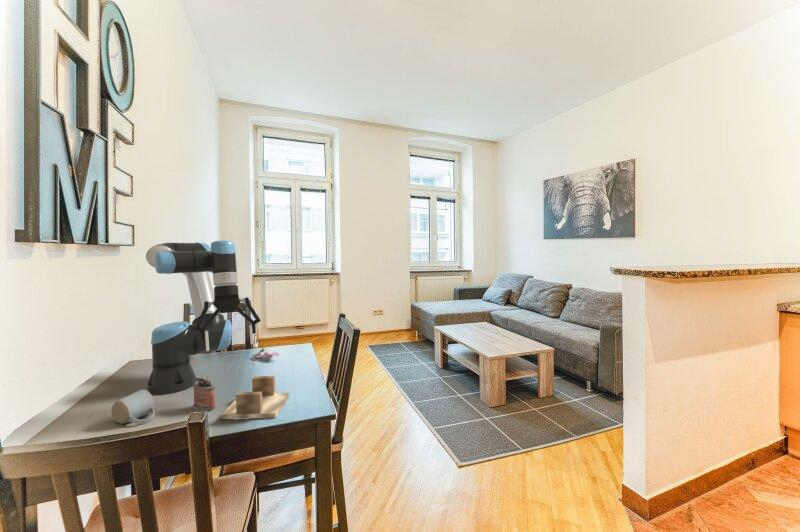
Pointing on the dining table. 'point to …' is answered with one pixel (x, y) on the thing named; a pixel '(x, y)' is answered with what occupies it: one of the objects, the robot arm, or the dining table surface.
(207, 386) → the lighter
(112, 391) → the dining table surface
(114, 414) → the ceramic mug
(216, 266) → the robot arm
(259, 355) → the pink flower
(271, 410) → the stand
